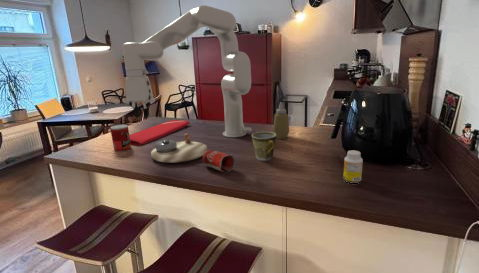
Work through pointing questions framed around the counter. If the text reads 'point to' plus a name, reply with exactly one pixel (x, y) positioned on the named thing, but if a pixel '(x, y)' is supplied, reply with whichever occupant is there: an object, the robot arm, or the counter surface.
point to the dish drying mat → (156, 132)
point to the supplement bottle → (353, 167)
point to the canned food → (120, 137)
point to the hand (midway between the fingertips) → (142, 116)
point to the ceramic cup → (264, 145)
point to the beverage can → (218, 160)
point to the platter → (181, 151)
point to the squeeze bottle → (281, 123)
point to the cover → (166, 146)
